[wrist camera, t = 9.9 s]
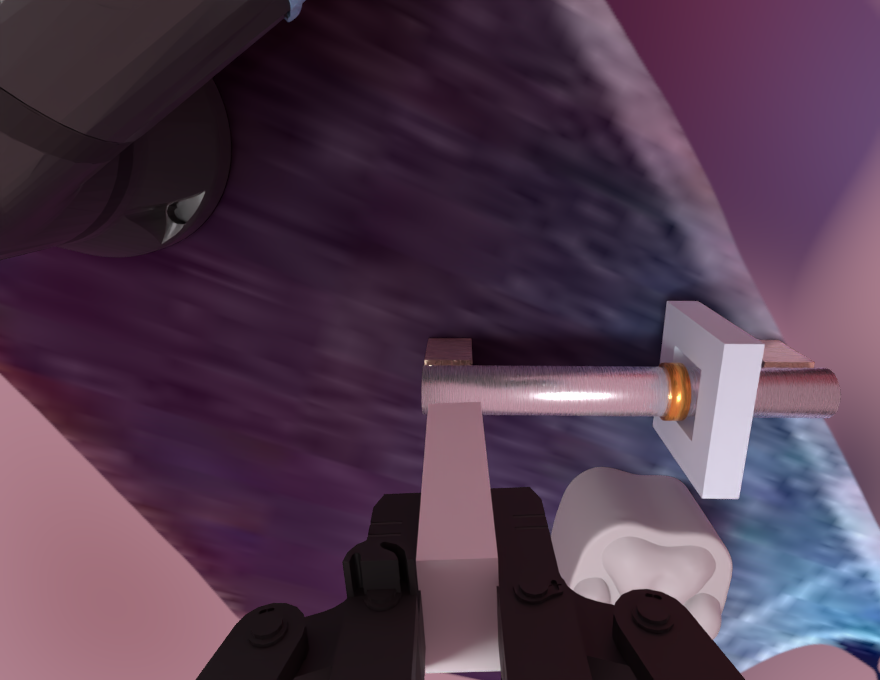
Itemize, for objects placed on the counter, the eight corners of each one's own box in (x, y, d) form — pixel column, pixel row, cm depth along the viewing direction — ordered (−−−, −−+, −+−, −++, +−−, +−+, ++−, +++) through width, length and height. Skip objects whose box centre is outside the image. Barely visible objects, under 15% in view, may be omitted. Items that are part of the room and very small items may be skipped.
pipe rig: (429, 379, 43) (421, 428, 35) (428, 333, 42) (420, 373, 34) (770, 382, 42) (836, 432, 34) (778, 335, 41) (848, 376, 33)
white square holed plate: (652, 426, 41) (701, 498, 33) (666, 300, 39) (724, 344, 30) (681, 426, 41) (738, 498, 33) (698, 300, 39) (764, 344, 30)
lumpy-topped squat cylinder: (705, 481, 44) (761, 556, 36) (661, 619, 48) (701, 716, 40) (568, 461, 44) (592, 532, 36) (535, 601, 48) (549, 694, 40)
